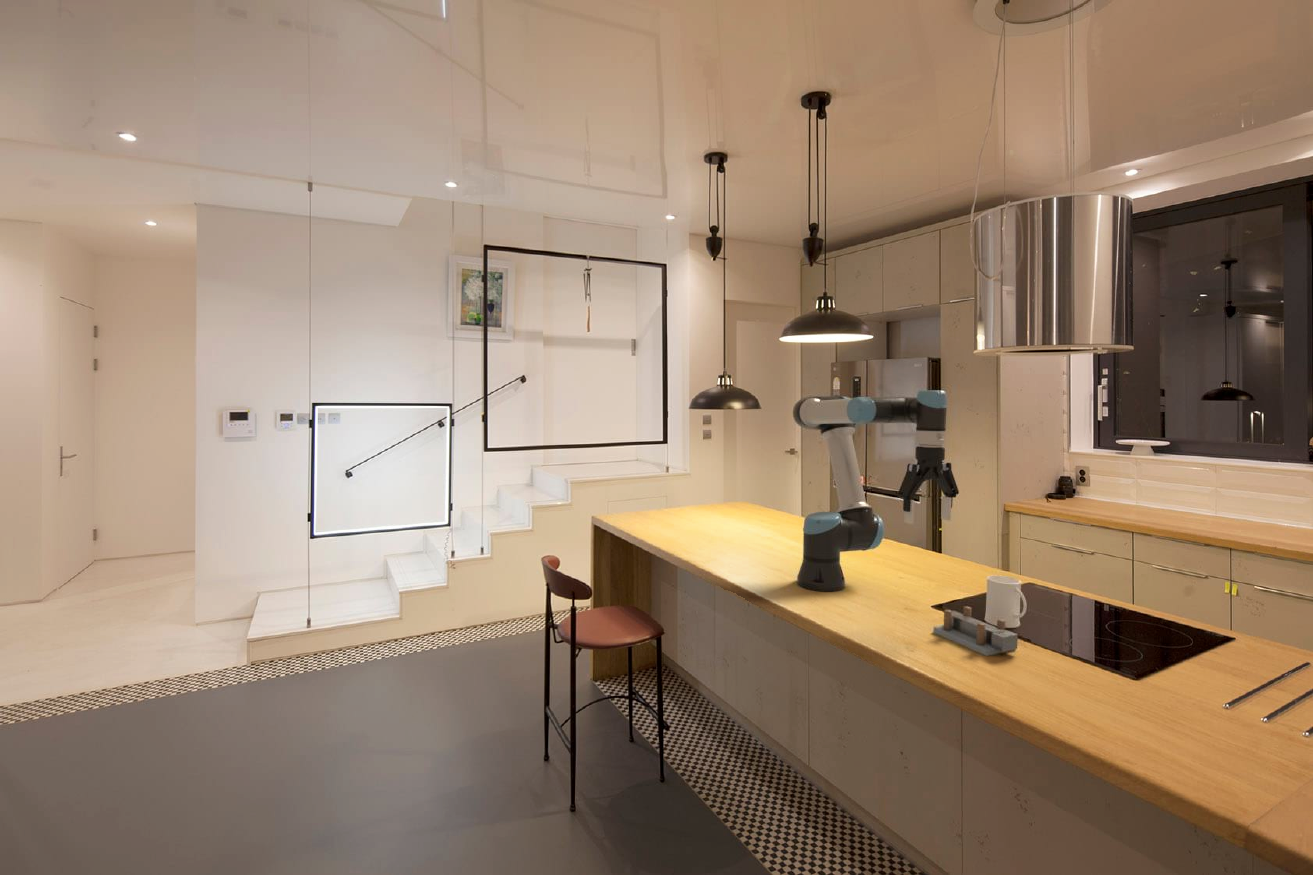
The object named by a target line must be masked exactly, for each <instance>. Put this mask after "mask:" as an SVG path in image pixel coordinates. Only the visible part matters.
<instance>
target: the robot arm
mask: <svg viewBox="0 0 1313 875" xmlns="http://www.w3.org/2000/svg"><path fill="white" fill-rule="evenodd" d="M947 408H948V402H947V392H946V391H945V390H919V391H918V392H917V394H916V397H911V396H897V397H896V396H895V397H894V396H891V397H887V396H886V397H885V396H884V397H880V396H869V397H868V396H857V397H853V398H850V397H848V396H841V395H833V396H831V395H829V396H826V395H824V396H820V395H818V396H816V395H814V396H813V395H812V396H811V395H809V396H805V397H803V398H800V399H799V400H798V401H797V402H796V403H795V404H794V406H793V409H792V417H793V420H794V422H795V423H796V424H797V425H798V426H799V427H801V428H803V429H806V430H811V431H812V430H815V431H817V430H820V436H821V438H823V439H824V440H825V441H826V442H827V449H828V452H829V457H830V464H831V469H832V472H833V473H832V474H833V477H834V484H835V489H836V493H837V498H838V500H837V501H838V504H839V508H838V510H837V511H830V510H829V511H817V512H816V511H815V512H813V513H809V514H808V515H806V517H804V521H803V528H802V531H803V544H802V546H803V549H802V551H803V552H802V561H801V562H802V563H801V565H800V568H799V571H798V574H797V576H796V583H797V585H798V586H800V587H801V588H805V589H807V590H812V591H817V592H819V591H820V592H837V591H840V590H843V589H844V588H845V587H846V580H845V576H844V573H843V569H842V566H841V553H844V552H845V553H846V552H856V551H857V552H858V551H863V552H865V551H868V550H874V549H877V548H878V547H879V546H880V545H881V544H882V541H883V539H884V536H885V525H884V521H883V520H882V518H881V516H880V515H878V514H876V513H874V512H873V507H872V506H871V505H869V504H868V503H867V500H866V496H865V491H864V487H863V482H862V476H861V473H860V467H859V463H858V458H857V453H856V448H855V444H854V440H853V438H854V437H853V435H854V434H855V432H856V427H857V426H858V425H859V424H860V425H864V424H865V425H867V424H916V427H915V444H916V447H915V455H914V456H915V458H914V459H915V460H916V463H908V464H907V466H906V472H905V475H904V477H903V480H902V482H901V485H900V487H899V490H898V492H897V494H896V495H897V497H898V498H900V499H902V500H903V501H902V504H903V505H902V510H903V514H904V520H903V522H904V523H905V524H909V525H914V522H915V519H914V518H915V517H914V516H915V500H914V499H913V498H914V497H915V495H916V494H917V492H918V490H920V488H921V486H922V485H923V483H924V482H926V481H927V480H934V481H935V483H936V485H937V486H938V487H939V489H940V490H941V491H942V493H943V495H942V496H941V508H940V509H941V511H940V515H941V516H940V519H941V520H945V521H948V522H949V521H952V520H951V517H952V516H951V515H952V508H953V501H954V500H953V498H956V497H957V495H959V493H960V492H959V491H960V490H959V488H958V485H957V482H956V478H955V477H954V474H953V471H952V463H951V462H947V461H944V460H945V454H946V448H945V447H944V446H945V445H946V430H947V429H946V428H947V427H946V426H947V425H946V424H947V411H948V410H947Z"/></svg>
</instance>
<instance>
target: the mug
mask: <svg viewBox="0 0 1313 875" xmlns="http://www.w3.org/2000/svg"><path fill="white" fill-rule="evenodd" d="M1021 590H1022V582H1021V580H1020V579H1017V578H1015V577H1011V576H1006V575H1000V574H999V575H998V574H993V575H988V576H987V579H986V596H985V597H986V598H985V599H986V601H985V615H984V621H985V623H987V624H989V625H992V626H994V627H997V619H1002V620H1005V629H1006V628H1008V629H1014V628H1019V627H1020V626H1021V622H1020V619H1021V618H1022V617H1023V616H1025V614H1026V612H1027V605H1028V604H1027V599H1026V598H1025V595H1024V593H1023V592H1022V591H1021ZM1021 600H1022V604H1023V609H1022V612H1020V611H1021Z"/></svg>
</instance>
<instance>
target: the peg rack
mask: <svg viewBox="0 0 1313 875" xmlns="http://www.w3.org/2000/svg"><path fill="white" fill-rule="evenodd" d="M952 611H953V610H950V609H944V612H943V624H941V625H936V626H933V631H932V632H933V633H934V634H936V635H938V636H941V637H943V638H946V639H947V640H950V641H951V642H953V643H955V644H956V643H957V644H958V645H961V646H962V647H966V648H968V649H970V650H972V651H974V652H976V653H979V654H981V655H983V656H985V657H987V656H991V655H996V654H1002V653H1006V652H1007V653H1008V652H1011V651H1015V650H1017V649H1013V650H1009V651H1004V652H1001V651H999V650H997V649H994V648H992V647H991V645H988V644H986V643H985V624H984V623H985V622H984V623H977V639H974V638H972V637H970V636H967V635H965V634H963V633H960V632H958V631H956V630H953V629H951V624H952ZM962 614H964V615H966V616H969V617H971V618H972V607H971V606H963V613H962ZM996 627H997V628H999V629H1002V630H1004V631H1005V630H1006V628H1005V620H1002V619H997V626H996Z"/></svg>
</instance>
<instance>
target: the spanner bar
mask: <svg viewBox="0 0 1313 875" xmlns="http://www.w3.org/2000/svg"><path fill="white" fill-rule="evenodd" d="M951 611H952V624H951V629H953V630H956V631H958V632H960V633H963V634H965V635H967V636H970V637H972V638H974V639H977V623H984V624H985V643H986V644H988V645H991V647H992V648H994V649H997V650H999V651H1001V652H1002V653H1005V652H1004V651H1007V652H1010V651H1009V650H1012V651H1014V650H1013V649H1016V650H1017V649H1018V643H1019V642H1018V641H1019V640H1018V639H1019V638H1018V637H1019V635H1018V634H1017V633H1015V632H1012V631H1010V630H1007V629H1005V631H1004V630H1002V629H999V628H997V626H995V625H992V624H989V623H987V622H984V621H982V620H979V619H976V618H974V617H972V616H971V617H969V616H966V615H964V614H963V613H961V612H958V611H956V610H951Z"/></svg>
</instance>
